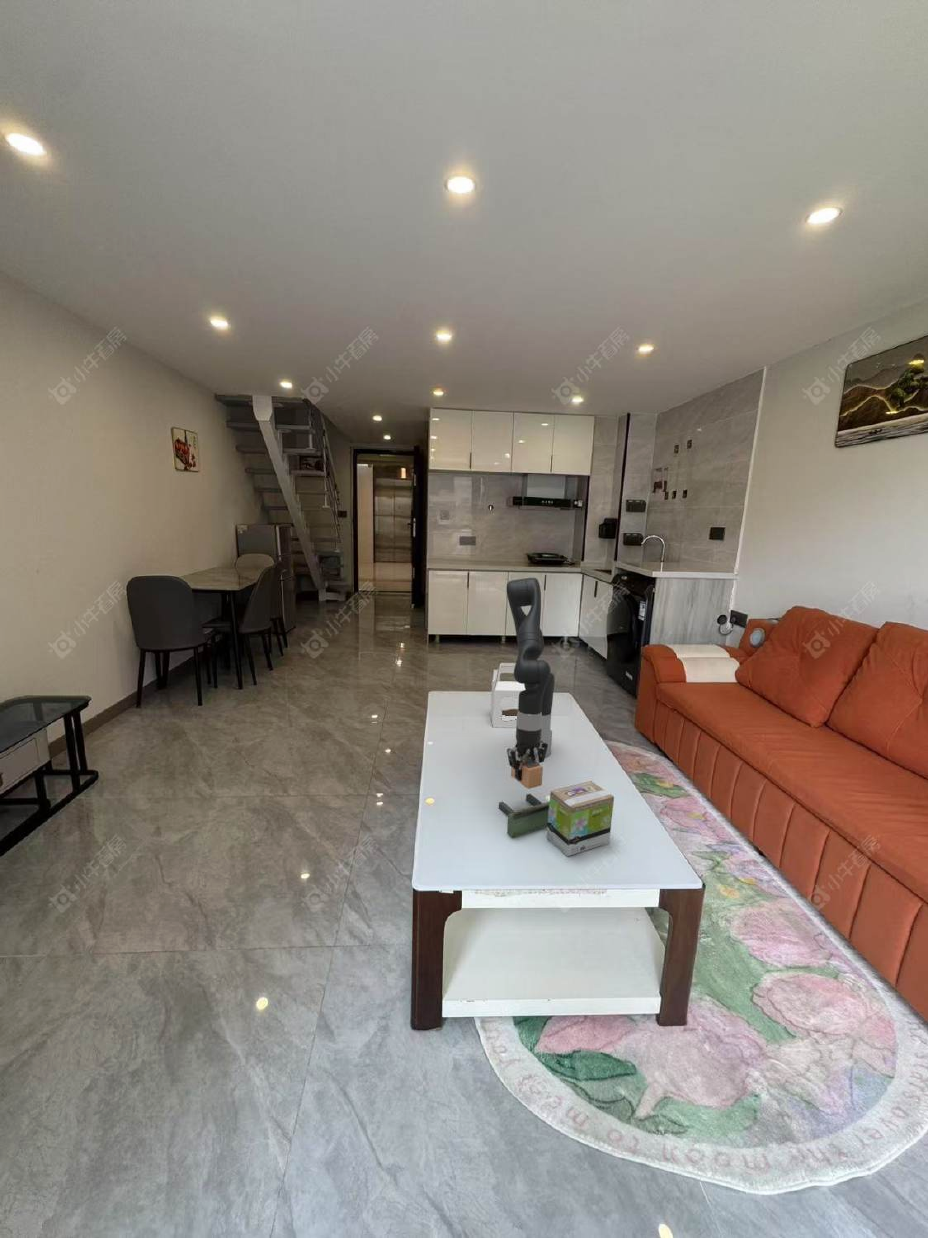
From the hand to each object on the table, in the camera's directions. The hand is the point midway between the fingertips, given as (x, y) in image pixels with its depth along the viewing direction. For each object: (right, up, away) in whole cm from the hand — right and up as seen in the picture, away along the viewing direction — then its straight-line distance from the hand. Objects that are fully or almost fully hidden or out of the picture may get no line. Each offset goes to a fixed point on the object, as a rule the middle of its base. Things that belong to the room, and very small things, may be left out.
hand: (526, 777), depth 152 cm
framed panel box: (0, -1, 0) cm, 1 cm away
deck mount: (+1, -12, 0) cm, 12 cm away
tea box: (+13, -14, -11) cm, 23 cm away
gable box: (+4, +1, +74) cm, 74 cm away
